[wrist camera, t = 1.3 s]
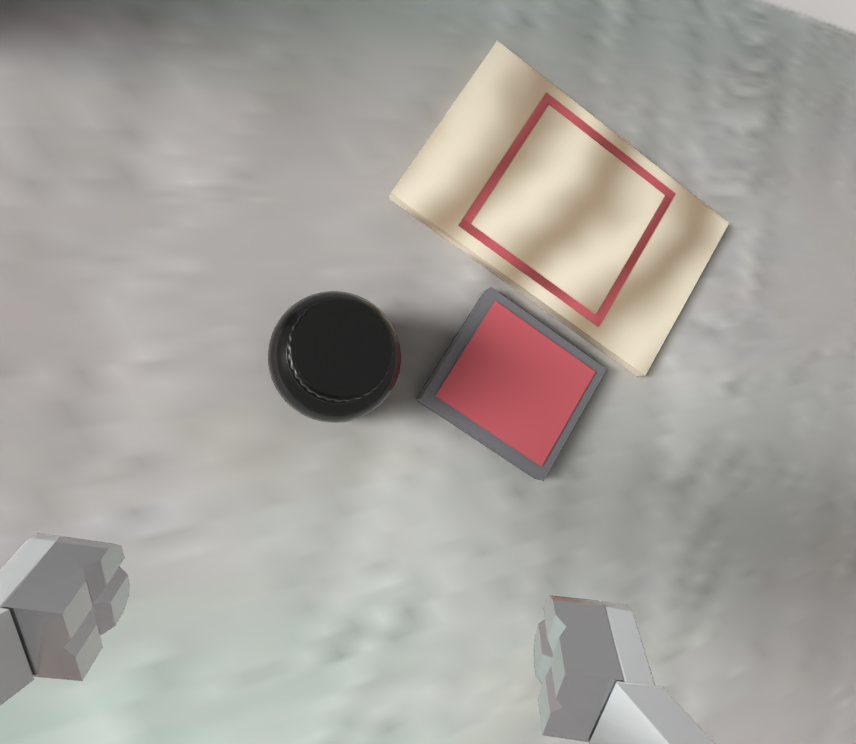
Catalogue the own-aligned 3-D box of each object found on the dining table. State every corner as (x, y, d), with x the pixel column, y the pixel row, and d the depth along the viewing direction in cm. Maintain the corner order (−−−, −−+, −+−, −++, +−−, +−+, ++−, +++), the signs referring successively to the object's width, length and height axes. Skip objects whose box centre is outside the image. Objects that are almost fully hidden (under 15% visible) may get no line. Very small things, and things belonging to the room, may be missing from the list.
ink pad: (415, 399, 39) (421, 398, 38) (484, 291, 41) (492, 286, 39) (534, 478, 41) (544, 481, 39) (595, 370, 42) (608, 368, 41)
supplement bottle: (253, 346, 37) (234, 312, 25) (348, 298, 39) (372, 247, 27) (305, 440, 37) (310, 450, 26) (397, 390, 39) (441, 377, 27)
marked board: (388, 198, 40) (391, 192, 39) (492, 49, 42) (497, 39, 41) (637, 376, 43) (646, 375, 42) (719, 227, 46) (730, 222, 45)
